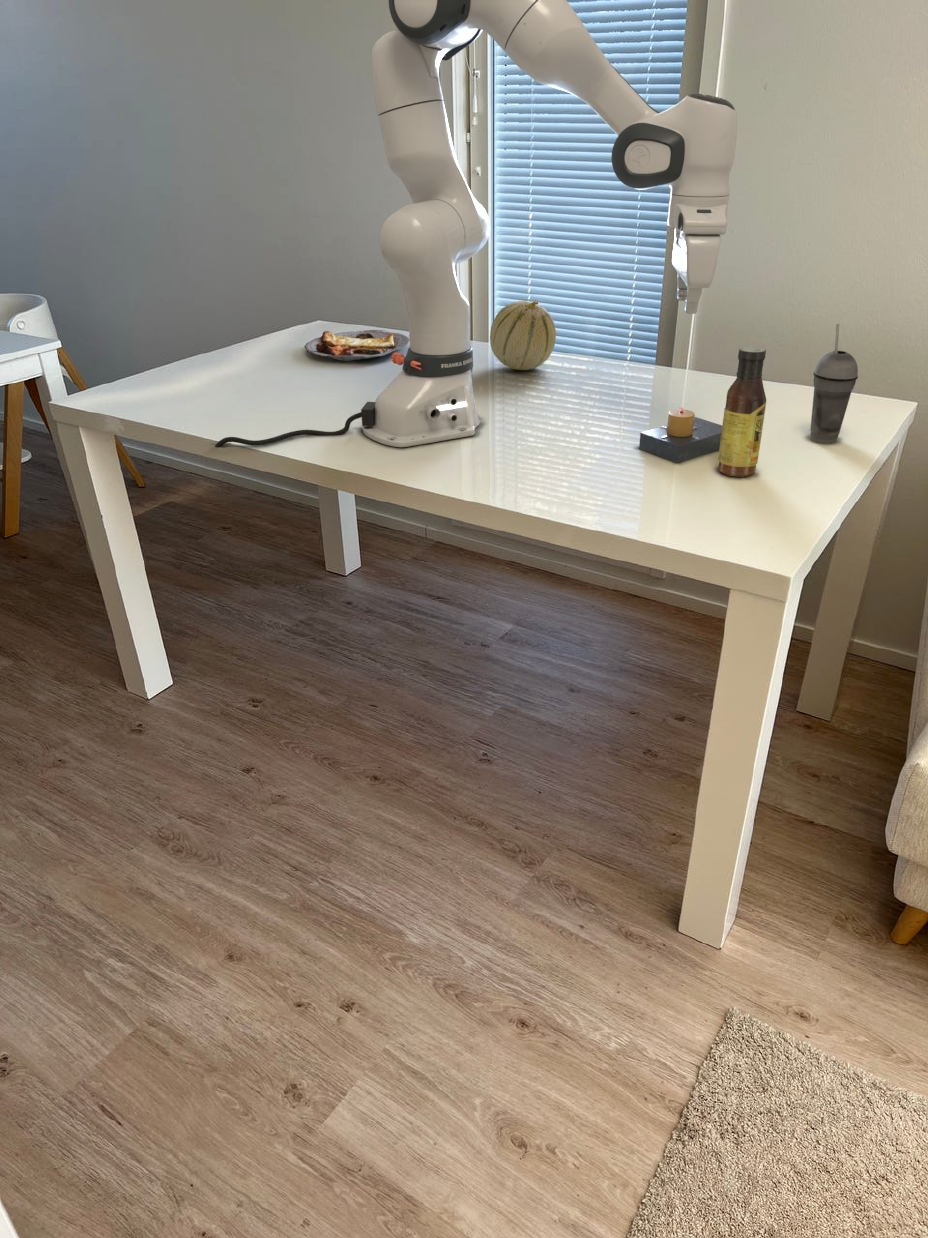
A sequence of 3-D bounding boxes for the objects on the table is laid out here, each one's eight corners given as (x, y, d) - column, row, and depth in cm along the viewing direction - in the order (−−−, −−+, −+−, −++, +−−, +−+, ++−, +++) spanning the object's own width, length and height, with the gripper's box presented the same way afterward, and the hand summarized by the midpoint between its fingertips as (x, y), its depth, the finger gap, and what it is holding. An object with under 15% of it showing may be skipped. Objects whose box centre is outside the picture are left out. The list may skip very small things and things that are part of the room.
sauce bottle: (757, 479, 148) (776, 355, 138) (717, 477, 149) (733, 353, 139) (754, 465, 154) (772, 344, 144) (715, 463, 155) (731, 343, 145)
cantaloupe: (493, 359, 214) (493, 292, 207) (556, 360, 213) (558, 293, 205) (485, 377, 202) (485, 306, 194) (553, 378, 200) (555, 307, 192)
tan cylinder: (694, 437, 157) (696, 415, 155) (667, 436, 158) (670, 415, 156) (690, 428, 161) (693, 407, 159) (665, 428, 161) (667, 407, 159)
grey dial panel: (677, 463, 155) (679, 445, 154) (638, 448, 161) (640, 431, 160) (732, 445, 162) (734, 428, 161) (693, 432, 169) (695, 415, 167)
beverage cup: (839, 449, 160) (863, 331, 150) (797, 442, 163) (817, 326, 153) (849, 436, 165) (872, 322, 155) (807, 430, 168) (828, 317, 158)
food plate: (292, 362, 215) (291, 347, 213) (322, 338, 234) (321, 324, 233) (397, 366, 211) (396, 350, 209) (418, 341, 231) (417, 327, 229)
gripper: (668, 205, 152) (659, 292, 159) (685, 223, 135) (674, 320, 142) (707, 205, 152) (696, 293, 159) (729, 223, 134) (716, 320, 141)
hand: (686, 306), depth 150 cm, fingers open, 8 cm apart
